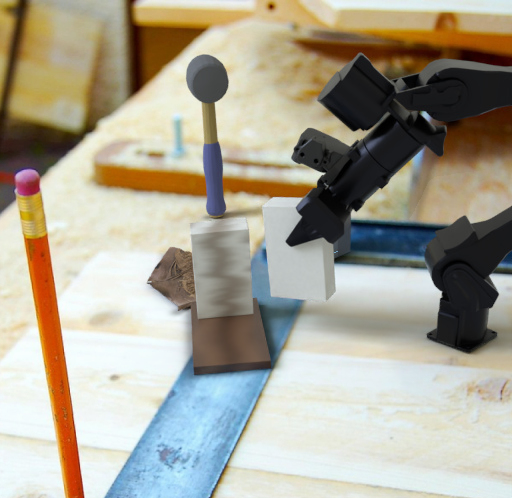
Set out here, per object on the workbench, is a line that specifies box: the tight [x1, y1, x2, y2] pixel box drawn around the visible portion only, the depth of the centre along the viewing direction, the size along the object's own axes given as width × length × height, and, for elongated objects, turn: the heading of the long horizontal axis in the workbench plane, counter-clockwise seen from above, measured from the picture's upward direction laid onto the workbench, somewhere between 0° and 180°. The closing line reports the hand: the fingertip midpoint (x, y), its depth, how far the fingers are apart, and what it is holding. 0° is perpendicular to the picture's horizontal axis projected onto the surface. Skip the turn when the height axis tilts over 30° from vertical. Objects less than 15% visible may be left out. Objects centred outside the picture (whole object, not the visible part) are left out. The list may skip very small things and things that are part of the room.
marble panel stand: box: [189, 216, 272, 376], centre depth 104 cm, size 10×19×14 cm, turn 179°
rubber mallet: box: [185, 53, 230, 219], centre depth 145 cm, size 12×8×30 cm, turn 2°
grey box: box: [333, 212, 352, 259], centre depth 128 cm, size 6×6×9 cm
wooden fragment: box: [146, 246, 197, 312], centre depth 127 cm, size 26×11×1 cm, turn 179°
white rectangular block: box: [261, 196, 337, 303], centre depth 101 cm, size 8×4×13 cm, turn 58°
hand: (292, 238), depth 101 cm, fingers closed on white rectangular block, 4 cm apart
